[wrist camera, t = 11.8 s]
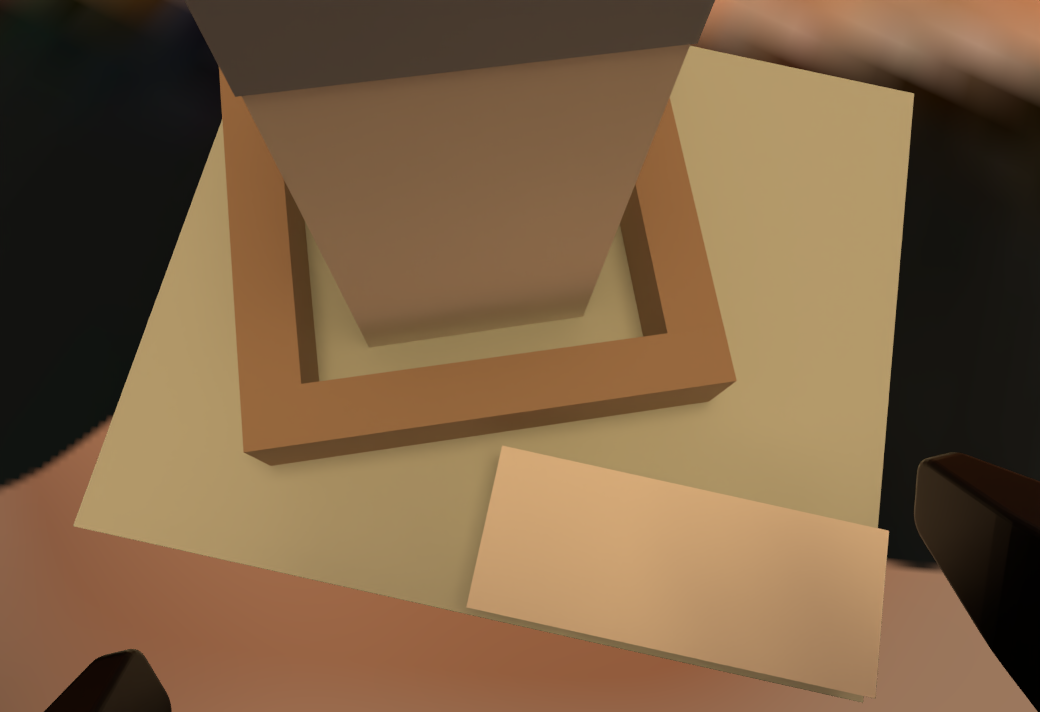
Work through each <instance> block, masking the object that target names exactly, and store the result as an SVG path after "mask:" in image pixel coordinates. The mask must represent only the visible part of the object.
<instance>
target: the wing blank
mask: <svg viewBox="0 0 1040 712" xmlns="http://www.w3.org/2000/svg"><path fill="white" fill-rule="evenodd" d="M888 536H889V531H888V530H883V529H879V528H874V527H869V526H865V525H860V524H856V523H851V522H847V521H842V520H838V519H833V518H829V517H824V516H820V515H815V514H811V513H806V512H801V511H797V510H792V509H788V508H783V507H779V506H774V505H770V504H765V503H761V502H756V501H752V500H747V499H743V498H738V497H733V496H729V495H724V494H720V493H715V492H711V491H706V490H702V489H697V488H693V487H688V486H684V485H679V484H675V483H670V482H665V481H661V480H656V479H652V478H647V477H643V476H638V475H634V474H629V473H625V472H620V471H616V470H611V469H607V468H602V467H598V466H593V465H588V464H584V463H579V462H575V461H570V460H566V459H561V458H557V457H552V456H548V455H543V454H539V453H534V452H530V451H525V450H520V449H516V448H511V447H507V446H502V448H501V453H500V458H499V462H498V467H497V471H496V476H495V480H494V485H493V489H492V494H491V498H490V503H489V507H488V512H487V516H486V521H485V525H484V530H483V534H482V539H481V543H480V548H479V552H478V557H477V561H476V566H475V570H474V575H473V579H472V584H471V588H470V593H469V597H468V602H467V606H466V607H467V608H472V609H476V610H481V611H485V612H490V613H494V614H499V615H503V616H508V617H512V618H517V619H521V620H526V621H530V622H535V623H539V624H543V625H548V626H552V627H557V628H561V629H566V630H570V631H575V632H579V633H584V634H588V635H593V636H597V637H602V638H606V639H611V640H615V641H620V642H624V643H629V644H633V645H637V646H642V647H646V648H651V649H655V650H660V651H664V652H669V653H673V654H678V655H682V656H687V657H691V658H696V659H700V660H705V661H709V662H714V663H718V664H723V665H727V666H731V667H736V668H740V669H745V670H749V671H754V672H758V673H763V674H767V675H772V676H776V677H781V678H785V679H790V680H794V681H799V682H803V683H808V684H812V685H817V686H821V687H825V688H830V689H834V690H839V691H843V692H848V693H852V694H857V695H861V696H866V697H870V698H876V687H877V674H878V661H879V649H880V636H881V624H882V610H883V599H884V598H883V597H884V586H885V572H886V561H887V548H888Z"/></svg>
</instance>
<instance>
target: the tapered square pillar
mask: <svg viewBox="0 0 1040 712" xmlns="http://www.w3.org/2000/svg"><path fill="white" fill-rule="evenodd" d="M714 1H715V0H185V2H186V4H187V6H188V8H189V10H190V12H191V14H192V15H193V17H194V19H195V21H196V23H197V25H198V27H199V29H200V31H201V33H202V35H203V36H204V38H205V40H206V42H207V44H208V46H209V48H210V50H211V52H212V54H213V56H214V58H215V59H216V61H217V63H218V65H219V67H220V69H221V71H222V73H223V75H224V77H225V79H226V80H227V82H228V84H229V86H230V88H231V90H232V92H233V94H234V96H235V97H238V96H242V98H243V100H244V102H245V104H246V106H247V108H248V110H249V112H250V114H251V116H252V118H253V120H254V122H255V124H256V126H257V128H258V130H259V132H260V134H261V136H262V138H263V139H264V141H265V143H266V145H267V147H268V149H269V151H270V153H271V155H272V157H273V159H274V161H275V163H276V165H277V167H278V169H279V171H280V173H281V175H282V177H283V179H284V181H285V183H286V185H287V187H288V189H289V191H290V193H291V195H292V197H293V199H294V200H295V202H296V204H297V206H298V208H299V210H300V212H301V214H302V216H303V218H304V220H305V222H306V224H307V226H308V228H309V230H310V232H311V234H312V236H313V238H314V240H315V242H316V244H317V246H318V248H319V250H320V252H321V254H322V256H323V258H324V260H325V261H326V263H327V265H328V267H329V269H330V271H331V273H332V275H333V277H334V279H335V281H336V283H337V285H338V287H339V289H340V291H341V293H342V295H343V297H344V299H345V301H346V303H347V305H348V307H349V309H350V311H351V313H352V315H353V317H354V319H355V321H356V322H357V324H358V326H359V328H360V330H361V332H362V334H363V336H364V338H365V340H366V342H367V344H368V346H369V348H371V347H378V346H385V345H392V344H398V343H405V342H412V341H419V340H426V339H433V338H439V337H446V336H453V335H460V334H467V333H474V332H480V331H487V330H494V329H501V328H508V327H514V326H521V325H528V324H535V323H542V322H549V321H555V320H562V319H569V318H576V317H583V315H584V313H585V310H586V308H587V305H588V303H589V300H590V298H591V295H592V293H593V290H594V287H595V285H596V282H597V280H598V277H599V275H600V272H601V270H602V267H603V265H604V262H605V260H606V257H607V255H608V252H609V249H610V247H611V244H612V242H613V239H614V237H615V234H616V232H617V229H618V227H619V224H620V222H621V219H622V216H623V214H624V211H625V209H626V206H627V204H628V201H629V199H630V196H631V194H632V191H633V189H634V186H635V184H636V181H637V178H638V176H639V173H640V171H641V168H642V166H643V163H644V161H645V158H646V156H647V153H648V151H649V148H650V145H651V143H652V140H653V138H654V135H655V133H656V130H657V128H658V125H659V123H660V120H661V118H662V115H663V113H664V110H665V107H666V105H667V102H668V100H669V97H670V95H671V92H672V90H673V87H674V85H675V82H676V80H677V77H678V75H679V72H680V69H681V67H682V64H683V62H684V59H685V57H686V54H687V52H688V49H689V47H690V44H696V43H698V41H699V38H700V36H701V33H702V31H703V28H704V26H705V23H706V21H707V18H708V16H709V14H710V11H711V9H712V6H713V4H714Z"/></svg>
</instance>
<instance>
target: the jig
mask: <svg viewBox="0 0 1040 712" xmlns="http://www.w3.org/2000/svg"><path fill="white" fill-rule="evenodd" d="M219 73H220V89H221V105H222V121H221V124H220V127H219V130H218V132H217V135H216V138H215V141H214V143H213V146H212V149H211V151H210V154H209V157H208V160H207V162H206V165H205V168H204V171H203V173H202V176H201V179H200V181H199V184H198V187H197V190H196V192H195V195H194V198H193V201H192V203H191V206H190V209H189V211H188V214H187V217H186V220H185V222H184V225H183V228H182V231H181V233H180V236H179V239H178V241H177V244H176V247H175V250H174V252H173V255H172V258H171V261H170V263H169V266H168V269H167V271H166V274H165V277H164V280H163V282H162V285H161V288H160V291H159V293H158V296H157V299H156V301H155V304H154V307H153V310H152V312H151V315H150V318H149V321H148V323H147V326H146V329H145V331H144V334H143V337H142V340H141V342H140V345H139V348H138V351H137V353H136V356H135V359H134V361H133V364H132V367H131V370H130V372H129V375H128V378H127V381H126V383H125V386H124V389H123V391H122V394H121V397H120V400H119V402H118V405H117V408H116V411H115V413H114V416H113V419H112V421H111V424H110V427H109V430H108V432H107V435H106V438H105V441H104V443H103V446H102V449H101V451H100V454H99V457H98V460H97V462H96V465H95V468H94V471H93V473H92V476H91V479H90V482H89V484H88V487H87V490H86V492H85V495H84V498H83V501H82V504H81V506H80V509H79V512H78V514H77V517H76V520H75V522H74V525H73V526H75V527H80V528H84V529H89V530H93V531H98V532H102V533H106V534H111V535H116V536H120V537H124V538H129V539H133V540H138V541H142V542H147V543H151V544H156V545H160V546H164V547H169V548H173V549H178V550H182V551H187V552H191V553H196V554H200V555H205V556H209V557H214V558H218V559H223V560H228V561H232V562H236V563H241V564H245V565H250V566H254V567H258V568H263V569H267V570H272V571H276V572H281V573H285V574H290V575H294V576H299V577H303V578H308V579H312V580H317V581H321V582H326V583H330V584H334V585H339V586H343V587H348V588H353V589H357V590H361V591H366V592H370V593H375V594H380V595H384V596H388V597H393V598H397V599H402V600H406V601H411V602H415V603H419V604H424V605H429V606H433V607H437V608H442V609H446V610H451V611H455V612H460V613H465V614H469V615H473V616H478V617H483V618H487V619H491V620H496V621H500V622H505V623H509V624H513V625H518V626H522V627H527V628H532V629H536V630H540V631H545V632H549V633H554V634H558V635H563V636H567V637H572V638H576V639H581V640H585V641H589V642H594V643H598V644H603V645H607V646H612V647H616V648H621V649H625V650H630V651H634V652H639V653H644V654H648V655H652V656H657V657H661V658H666V659H670V660H675V661H679V662H683V663H688V664H693V665H697V666H701V667H706V668H710V669H715V670H719V671H724V672H728V673H733V674H737V675H742V676H746V677H751V678H755V679H759V680H764V681H769V682H773V683H778V684H782V685H786V686H791V687H795V688H800V689H804V690H809V691H814V692H818V693H822V694H827V695H831V696H836V697H840V698H845V699H849V700H853V701H858V702H863V698H864V696H861V695H857V694H852V693H848V692H843V691H839V690H834V689H830V688H825V687H821V686H817V685H812V684H808V683H803V682H799V681H794V680H790V679H785V678H781V677H776V676H772V675H767V674H763V673H758V672H754V671H749V670H745V669H740V668H736V667H731V666H727V665H723V664H718V663H714V662H709V661H705V660H700V659H696V658H691V657H687V656H682V655H678V654H673V653H669V652H664V651H660V650H655V649H651V648H646V647H642V646H637V645H633V644H629V643H624V642H620V641H615V640H611V639H606V638H602V637H597V636H593V635H588V634H584V633H579V632H575V631H570V630H566V629H561V628H557V627H552V626H548V625H543V624H539V623H535V622H530V621H526V620H521V619H517V618H512V617H508V616H503V615H499V614H494V613H490V612H485V611H481V610H476V609H472V608H467V607H466V606H467V602H468V597H469V593H470V588H471V584H472V579H473V575H474V570H475V566H476V561H477V557H478V552H479V548H480V543H481V539H482V534H483V530H484V525H485V521H486V516H487V512H488V507H489V503H490V498H491V494H492V489H493V485H494V480H495V476H496V471H497V467H498V462H499V458H500V453H501V448H502V446H507V447H511V448H516V449H520V450H525V451H530V452H534V453H539V454H543V455H548V456H552V457H557V458H561V459H566V460H570V461H575V462H579V463H584V464H588V465H593V466H598V467H602V468H607V469H611V470H616V471H620V472H625V473H629V474H634V475H638V476H643V477H647V478H652V479H656V480H661V481H665V482H670V483H675V484H679V485H684V486H688V487H693V488H697V489H702V490H706V491H711V492H715V493H720V494H724V495H729V496H733V497H738V498H743V499H747V500H752V501H756V502H761V503H765V504H770V505H774V506H779V507H783V508H788V509H792V510H797V511H801V512H806V513H811V514H815V515H820V516H824V517H829V518H833V519H838V520H842V521H847V522H851V523H856V524H860V525H865V526H869V527H874V528H878V518H879V506H880V494H881V482H882V470H883V458H884V446H885V434H886V422H887V410H888V398H889V387H890V375H891V363H892V351H893V339H894V327H895V315H896V303H897V291H898V279H899V267H900V255H901V243H902V231H903V219H904V207H905V195H906V183H907V171H908V159H909V147H910V135H911V123H912V111H913V99H914V94H913V93H909V92H904V91H899V90H895V89H890V88H885V87H881V86H876V85H871V84H867V83H862V82H857V81H852V80H848V79H843V78H838V77H834V76H829V75H824V74H820V73H815V72H810V71H806V70H801V69H796V68H792V67H787V66H782V65H778V64H773V63H768V62H763V61H759V60H754V59H749V58H745V57H740V56H735V55H731V54H726V53H721V52H717V51H712V50H707V49H703V48H698V47H693V46H690V47H689V49H688V52H687V54H686V57H685V59H684V62H683V64H682V67H681V69H680V72H679V75H678V77H677V80H676V82H675V85H674V87H673V90H672V92H671V95H670V97H669V100H668V102H667V105H666V107H665V110H664V113H663V115H662V118H661V120H660V123H659V125H658V128H657V130H656V133H655V135H654V138H653V140H652V143H651V145H650V148H649V151H648V153H647V156H646V158H645V161H644V163H643V166H642V168H641V171H640V173H639V176H638V178H637V181H636V184H635V186H634V189H633V191H632V194H631V196H630V199H629V201H628V204H627V206H626V209H625V211H624V214H623V216H622V219H621V222H620V224H619V227H618V229H617V232H616V234H615V237H614V239H613V242H612V244H611V247H610V249H609V252H608V255H607V257H606V260H605V262H604V265H603V267H602V270H601V272H600V275H599V277H598V280H597V282H596V285H595V287H594V290H593V293H592V295H591V298H590V300H589V303H588V305H587V308H586V310H585V313H584V315H583V317H576V318H569V319H562V320H555V321H549V322H542V323H535V324H528V325H521V326H514V327H508V328H501V329H494V330H487V331H480V332H474V333H467V334H460V335H453V336H446V337H439V338H433V339H426V340H419V341H412V342H405V343H398V344H392V345H385V346H378V347H371V348H369V346H368V344H367V342H366V340H365V338H364V336H363V334H362V332H361V330H360V328H359V326H358V324H357V322H356V321H355V319H354V317H353V315H352V313H351V311H350V309H349V307H348V305H347V303H346V301H345V299H344V297H343V295H342V293H341V291H340V289H339V287H338V285H337V283H336V281H335V279H334V277H333V275H332V273H331V271H330V269H329V267H328V265H327V263H326V261H325V260H324V258H323V256H322V254H321V252H320V250H319V248H318V246H317V244H316V242H315V240H314V238H313V236H312V234H311V232H310V230H309V228H308V226H307V224H306V222H305V220H304V218H303V216H302V214H301V212H300V210H299V208H298V206H297V204H296V202H295V200H294V199H293V197H292V195H291V193H290V191H289V189H288V187H287V185H286V183H285V181H284V179H283V177H282V175H281V173H280V171H279V169H278V167H277V165H276V163H275V161H274V159H273V157H272V155H271V153H270V151H269V149H268V147H267V145H266V143H265V141H264V139H263V138H262V136H261V134H260V132H259V130H258V128H257V126H256V124H255V122H254V120H253V118H252V116H251V114H250V112H249V110H248V108H247V106H246V104H245V102H244V100H243V98H242V96H238V97H235V96H234V94H233V92H232V90H231V88H230V86H229V84H228V82H227V80H226V79H225V77H224V75H223V73H222V71H221V69H220V67H219Z"/></svg>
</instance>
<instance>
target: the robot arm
mask: <svg viewBox="0 0 1040 712" xmlns="http://www.w3.org/2000/svg"><path fill="white" fill-rule="evenodd" d="M914 518H915V523H916V527H917V529H918V532H919V534H920V536H921V538H922V539H923V541H924V543H925V544H926V546H927V547H928V549H929V551H930V552H931V554H932V556H933V557H934V559H935V560H936V562H937V564H938V565H939V567H940V569H941V570H942V572H943V573H944V575H945V576H946V578H947V580H948V581H949V583H950V585H951V586H952V588H953V589H954V591H955V593H956V594H957V596H958V598H959V599H960V601H961V603H962V604H963V606H964V607H965V609H966V611H967V612H968V614H969V615H970V617H971V619H972V620H973V622H974V624H975V625H976V627H977V628H978V630H979V632H980V633H981V635H982V636H983V638H984V639H985V641H986V642H987V644H988V646H989V647H990V649H991V650H992V652H993V653H994V654H995V656H996V657H997V658H998V660H999V661H1000V662H1001V664H1002V665H1003V667H1004V668H1005V669H1006V671H1007V672H1008V673H1009V675H1010V676H1011V677H1012V678H1013V680H1014V681H1015V682H1016V684H1017V685H1018V686H1019V687H1020V689H1021V690H1022V691H1023V693H1024V694H1025V695H1026V697H1027V698H1028V699H1029V701H1030V702H1031V703H1032V705H1033V706H1034V707H1035V708H1036V710H1037V711H1038V712H1040V481H1037V480H1034V479H1031V478H1029V477H1026V476H1023V475H1020V474H1018V473H1015V472H1012V471H1009V470H1007V469H1004V468H1001V467H999V466H996V465H993V464H990V463H988V462H985V461H982V460H979V459H977V458H974V457H971V456H968V455H966V454H962V453H958V452H952V453H947V454H943V455H939V456H934V457H930V458H927V459H925V460H923V461H922V462H921V463H920V465H919V466H918V471H917V482H916V495H915V507H914ZM44 712H171V704H170V700H169V697H168V695H167V693H166V691H165V689H164V688H163V686H162V684H161V683H160V681H159V679H158V678H157V676H156V674H155V673H154V671H153V669H152V668H151V666H150V664H149V663H148V661H147V659H146V658H145V656H144V655H143V654H142V653H141V652H140V651H138V650H136V649H128V650H124V651H120V652H115V653H111V654H107V655H104V656H101V657H99V658H97V659H95V660H94V661H93V662H92V663H91V664H90V665H89V666H88V667H87V668H86V669H85V670H84V671H83V672H82V673H81V674H80V675H79V676H78V677H77V678H76V679H75V680H74V681H73V682H72V683H71V684H70V686H68V687H67V689H66V690H65V691H64V692H63V693H62V694H61V695H60V696H59V697H58V698H57V699H56V700H55V701H54V702H53V703H52V704H51V705H50V706H49V707H48V708H47V709H46V710H45V711H44Z"/></svg>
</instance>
